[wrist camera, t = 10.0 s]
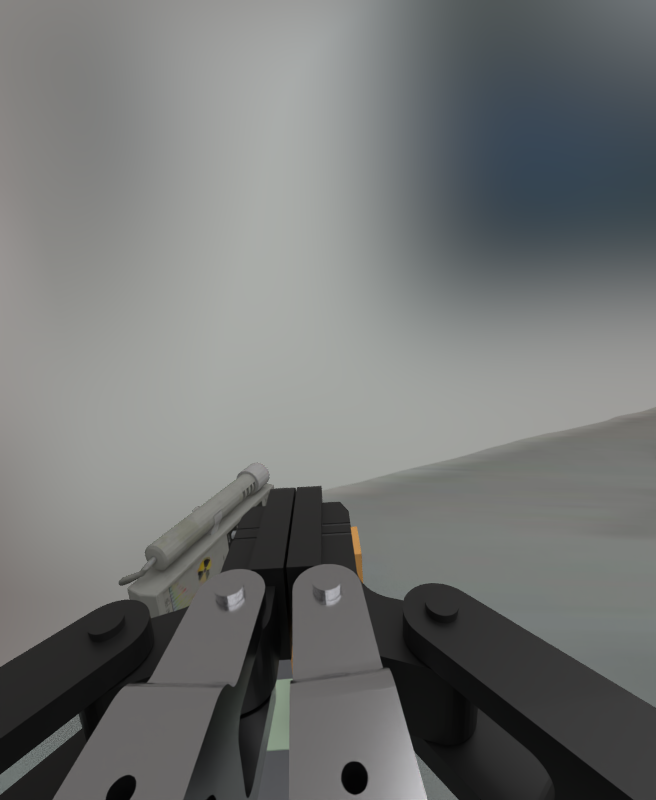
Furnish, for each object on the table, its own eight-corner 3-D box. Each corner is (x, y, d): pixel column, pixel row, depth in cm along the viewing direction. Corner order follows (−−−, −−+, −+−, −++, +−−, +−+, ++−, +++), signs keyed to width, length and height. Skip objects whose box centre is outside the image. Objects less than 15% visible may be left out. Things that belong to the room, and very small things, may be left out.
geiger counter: (157, 564, 27) (296, 446, 50) (94, 550, 29) (256, 443, 52) (185, 712, 30) (304, 537, 53) (127, 690, 32) (265, 531, 55)
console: (533, 1397, 11) (540, 1356, 10) (188, 1424, 11) (171, 1385, 10) (383, 635, 36) (382, 609, 35) (281, 643, 36) (278, 617, 35)
